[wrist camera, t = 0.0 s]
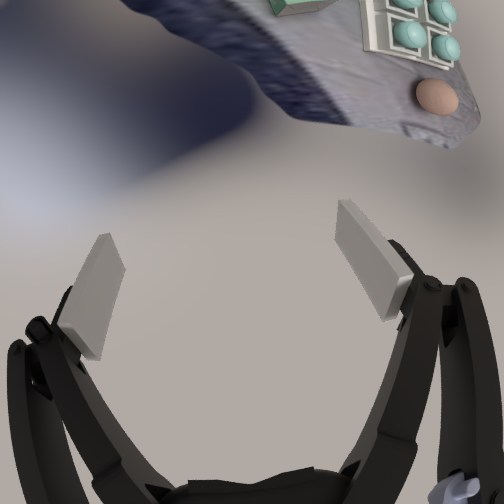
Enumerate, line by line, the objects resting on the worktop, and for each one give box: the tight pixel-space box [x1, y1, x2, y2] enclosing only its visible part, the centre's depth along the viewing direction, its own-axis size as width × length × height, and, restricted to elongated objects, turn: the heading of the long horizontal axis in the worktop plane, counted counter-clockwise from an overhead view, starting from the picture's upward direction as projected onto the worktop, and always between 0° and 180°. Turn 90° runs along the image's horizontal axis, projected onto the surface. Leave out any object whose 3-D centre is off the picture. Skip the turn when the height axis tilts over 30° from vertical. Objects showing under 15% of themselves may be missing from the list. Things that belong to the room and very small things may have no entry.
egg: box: [416, 78, 458, 116], centre depth 31 cm, size 7×7×9 cm
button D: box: [431, 35, 461, 61], centre depth 24 cm, size 4×4×3 cm
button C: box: [427, 0, 458, 23], centre depth 19 cm, size 4×4×3 cm
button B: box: [393, 21, 427, 48], centre depth 23 cm, size 4×4×3 cm
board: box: [359, 0, 453, 70], centre depth 23 cm, size 20×18×6 cm
